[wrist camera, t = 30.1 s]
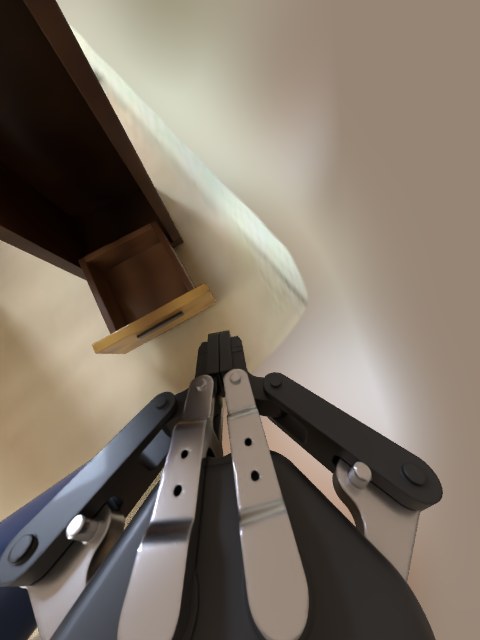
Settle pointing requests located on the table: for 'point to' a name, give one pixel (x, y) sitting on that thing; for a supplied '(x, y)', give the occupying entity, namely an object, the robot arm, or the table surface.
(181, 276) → the drawer
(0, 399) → the table surface
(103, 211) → the cubby
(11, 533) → the thermos
